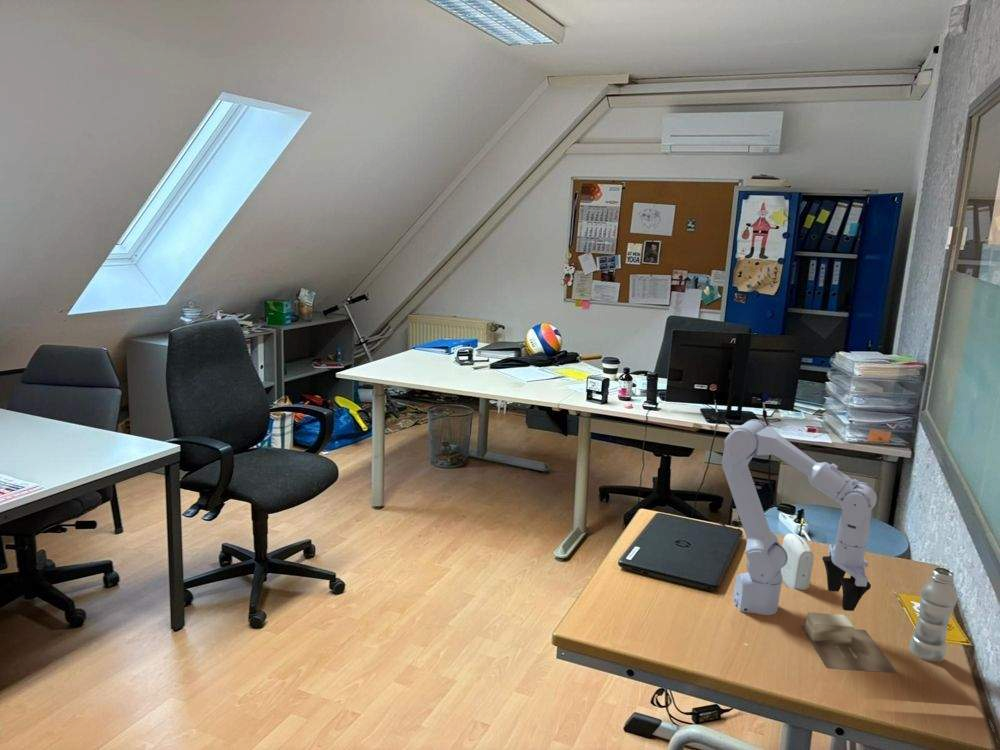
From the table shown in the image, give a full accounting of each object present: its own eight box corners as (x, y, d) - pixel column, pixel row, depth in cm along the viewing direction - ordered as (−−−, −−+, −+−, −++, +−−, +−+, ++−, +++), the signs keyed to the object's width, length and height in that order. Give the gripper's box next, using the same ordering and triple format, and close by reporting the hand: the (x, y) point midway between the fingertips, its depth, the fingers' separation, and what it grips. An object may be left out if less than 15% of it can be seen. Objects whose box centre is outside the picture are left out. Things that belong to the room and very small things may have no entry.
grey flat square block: (825, 674, 148) (826, 667, 148) (799, 631, 163) (800, 625, 162) (896, 679, 148) (898, 673, 148) (864, 636, 162) (865, 630, 162)
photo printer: (810, 595, 178) (818, 548, 175) (792, 595, 178) (800, 547, 175) (791, 574, 188) (799, 529, 185) (775, 573, 188) (782, 528, 185)
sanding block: (812, 640, 157) (815, 623, 156) (804, 628, 161) (807, 612, 160) (850, 643, 157) (853, 626, 156) (842, 631, 161) (845, 614, 160)
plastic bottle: (900, 653, 157) (917, 566, 152) (922, 646, 160) (940, 561, 155) (927, 671, 151) (947, 581, 146) (950, 664, 154) (969, 576, 149)
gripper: (887, 559, 148) (875, 620, 151) (855, 527, 162) (845, 583, 165) (851, 556, 148) (840, 617, 151) (822, 525, 162) (813, 581, 165)
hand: (840, 599), depth 158 cm, fingers open, 7 cm apart
